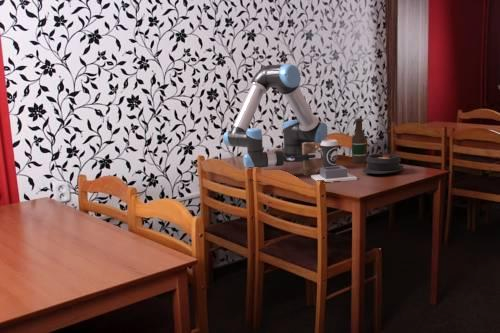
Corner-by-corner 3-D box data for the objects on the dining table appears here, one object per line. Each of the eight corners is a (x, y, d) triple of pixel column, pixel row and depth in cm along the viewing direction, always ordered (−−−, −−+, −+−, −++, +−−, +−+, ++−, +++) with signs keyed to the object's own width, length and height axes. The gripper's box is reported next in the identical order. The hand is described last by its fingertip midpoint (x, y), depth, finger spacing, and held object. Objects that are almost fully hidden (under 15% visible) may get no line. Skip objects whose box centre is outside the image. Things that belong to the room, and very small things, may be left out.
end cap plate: (321, 183, 254) (320, 172, 253) (311, 177, 268) (310, 167, 267) (356, 179, 258) (356, 169, 257) (345, 174, 271) (345, 163, 270)
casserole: (380, 166, 287) (380, 150, 285) (412, 170, 274) (413, 153, 272) (353, 174, 270) (353, 158, 268) (386, 179, 256) (386, 161, 255)
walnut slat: (304, 175, 273) (303, 144, 270) (303, 174, 276) (302, 143, 273) (316, 174, 274) (315, 143, 271) (314, 173, 277) (313, 142, 274)
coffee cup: (338, 166, 290) (338, 139, 287) (339, 170, 281) (339, 141, 278) (320, 167, 291) (319, 139, 288) (321, 171, 282) (320, 142, 279)
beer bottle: (358, 164, 294) (357, 120, 289) (349, 162, 301) (348, 119, 296) (369, 162, 297) (369, 118, 293) (360, 160, 304) (359, 117, 299)
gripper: (270, 163, 278) (314, 159, 283) (279, 169, 263) (325, 164, 268) (270, 148, 277) (314, 145, 282) (278, 153, 261) (324, 149, 266)
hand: (319, 154), depth 275 cm, fingers closed on walnut slat, 3 cm apart
